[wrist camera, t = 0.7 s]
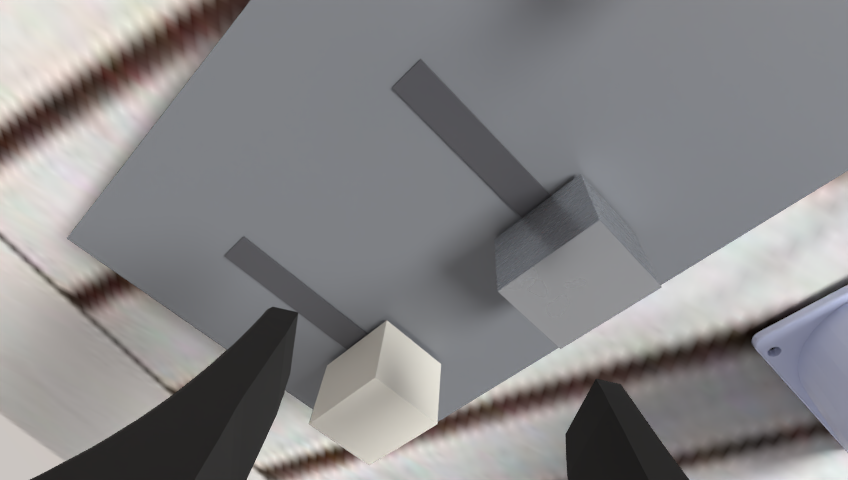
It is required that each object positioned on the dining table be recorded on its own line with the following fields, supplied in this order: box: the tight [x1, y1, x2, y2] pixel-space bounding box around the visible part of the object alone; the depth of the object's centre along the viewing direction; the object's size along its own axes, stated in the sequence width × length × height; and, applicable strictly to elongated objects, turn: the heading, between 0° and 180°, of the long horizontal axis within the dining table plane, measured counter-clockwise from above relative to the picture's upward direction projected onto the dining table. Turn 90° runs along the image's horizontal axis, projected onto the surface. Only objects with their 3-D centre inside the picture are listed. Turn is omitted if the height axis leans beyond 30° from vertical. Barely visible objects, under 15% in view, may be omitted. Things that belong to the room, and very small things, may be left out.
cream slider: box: [309, 320, 441, 465], centre depth 21 cm, size 3×4×3 cm
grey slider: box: [494, 174, 661, 349], centre depth 18 cm, size 3×4×3 cm
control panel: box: [67, 0, 848, 422], centre depth 18 cm, size 16×27×3 cm, turn 135°
